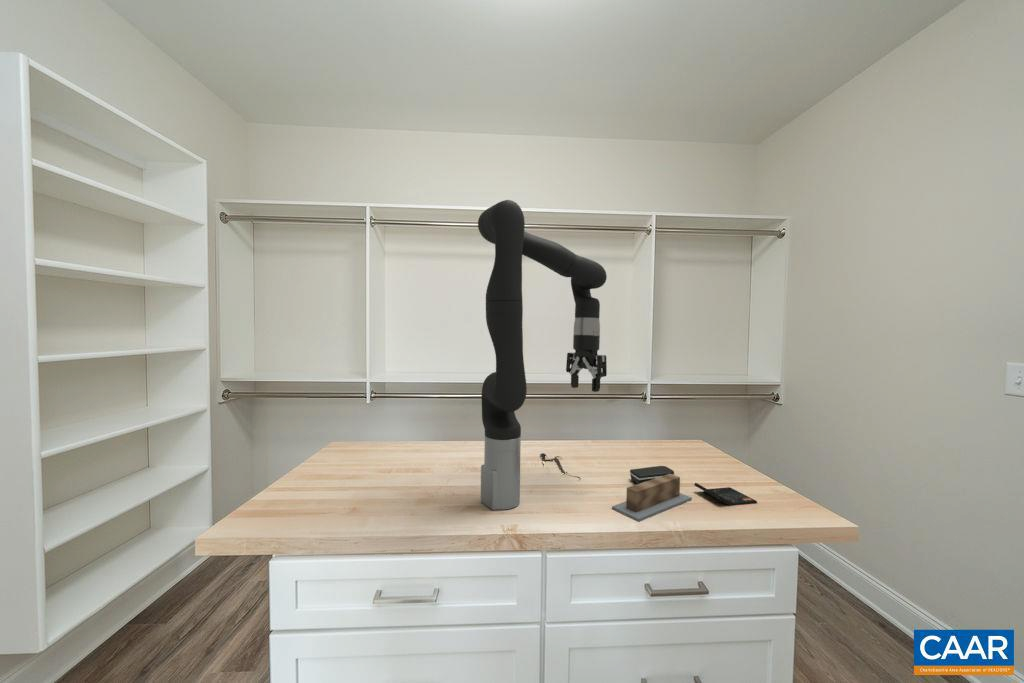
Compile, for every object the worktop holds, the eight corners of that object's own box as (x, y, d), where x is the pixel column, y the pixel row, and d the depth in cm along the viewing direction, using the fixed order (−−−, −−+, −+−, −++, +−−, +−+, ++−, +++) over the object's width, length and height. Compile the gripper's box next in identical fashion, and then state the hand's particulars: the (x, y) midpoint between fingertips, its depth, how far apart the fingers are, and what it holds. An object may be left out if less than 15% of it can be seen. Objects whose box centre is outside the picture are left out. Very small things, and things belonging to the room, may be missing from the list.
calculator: (756, 504, 103) (757, 493, 103) (718, 508, 100) (718, 496, 100) (729, 490, 112) (729, 479, 112) (693, 493, 109) (694, 482, 109)
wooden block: (636, 512, 95) (636, 491, 95) (626, 507, 98) (626, 487, 97) (679, 495, 105) (680, 477, 105) (669, 491, 108) (669, 473, 108)
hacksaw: (539, 456, 140) (539, 452, 140) (568, 456, 140) (568, 452, 140) (547, 482, 116) (547, 477, 116) (582, 482, 116) (582, 477, 116)
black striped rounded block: (640, 490, 111) (678, 485, 113) (638, 476, 111) (676, 471, 113) (629, 481, 118) (665, 477, 120) (628, 469, 118) (664, 464, 120)
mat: (638, 521, 92) (638, 519, 92) (611, 508, 98) (611, 506, 98) (691, 499, 104) (691, 497, 104) (664, 489, 111) (665, 487, 111)
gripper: (560, 333, 119) (559, 387, 119) (595, 333, 107) (593, 393, 107) (579, 333, 123) (577, 385, 123) (614, 334, 111) (612, 392, 111)
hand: (584, 389), depth 115 cm, fingers open, 8 cm apart
